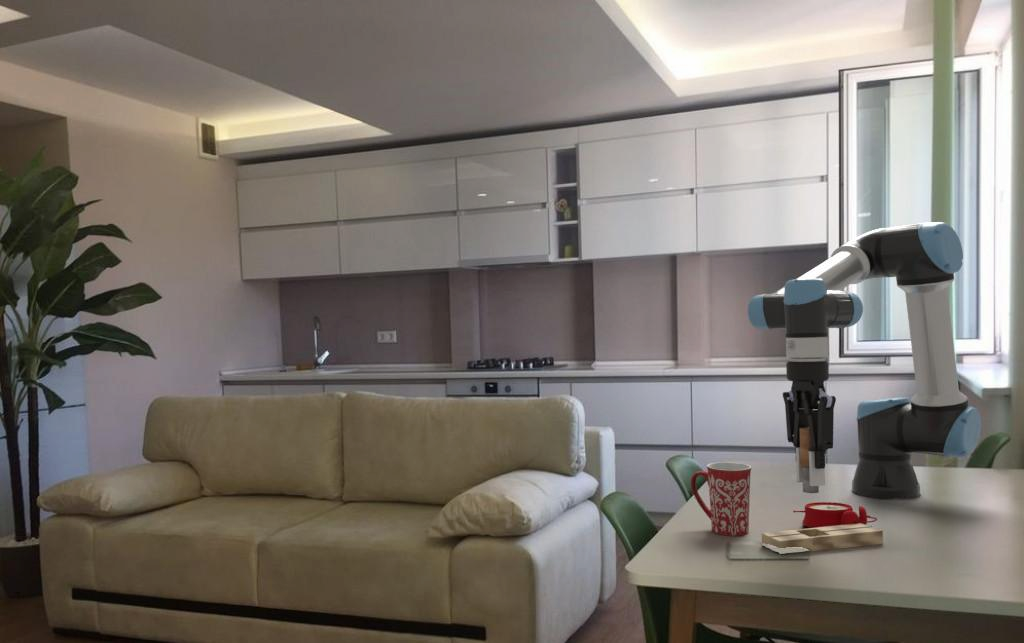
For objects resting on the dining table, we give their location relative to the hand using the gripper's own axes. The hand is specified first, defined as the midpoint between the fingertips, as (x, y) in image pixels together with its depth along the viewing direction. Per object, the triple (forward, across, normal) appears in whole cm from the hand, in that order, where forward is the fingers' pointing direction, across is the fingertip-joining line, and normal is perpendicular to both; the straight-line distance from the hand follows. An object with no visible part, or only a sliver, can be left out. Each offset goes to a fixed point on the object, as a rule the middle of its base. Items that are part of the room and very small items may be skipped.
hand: (810, 483), depth 147 cm
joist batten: (+12, 0, +2) cm, 12 cm away
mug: (+12, -16, -10) cm, 23 cm away
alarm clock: (+12, -9, +12) cm, 19 cm away
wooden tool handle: (+2, 0, 0) cm, 2 cm away
